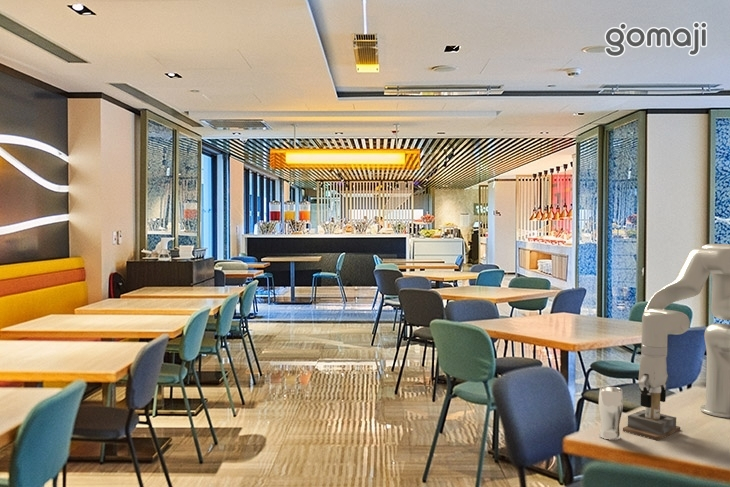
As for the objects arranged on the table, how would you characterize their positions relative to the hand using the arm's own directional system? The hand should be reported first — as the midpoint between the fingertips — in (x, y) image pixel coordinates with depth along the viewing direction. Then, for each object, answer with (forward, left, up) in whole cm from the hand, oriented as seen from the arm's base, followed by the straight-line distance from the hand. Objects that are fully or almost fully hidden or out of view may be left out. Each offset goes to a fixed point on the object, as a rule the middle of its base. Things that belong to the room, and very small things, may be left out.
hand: (653, 403), depth 201 cm
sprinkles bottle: (0, 0, -8) cm, 8 cm away
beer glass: (+17, -5, -9) cm, 20 cm away
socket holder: (0, 0, -9) cm, 9 cm away
